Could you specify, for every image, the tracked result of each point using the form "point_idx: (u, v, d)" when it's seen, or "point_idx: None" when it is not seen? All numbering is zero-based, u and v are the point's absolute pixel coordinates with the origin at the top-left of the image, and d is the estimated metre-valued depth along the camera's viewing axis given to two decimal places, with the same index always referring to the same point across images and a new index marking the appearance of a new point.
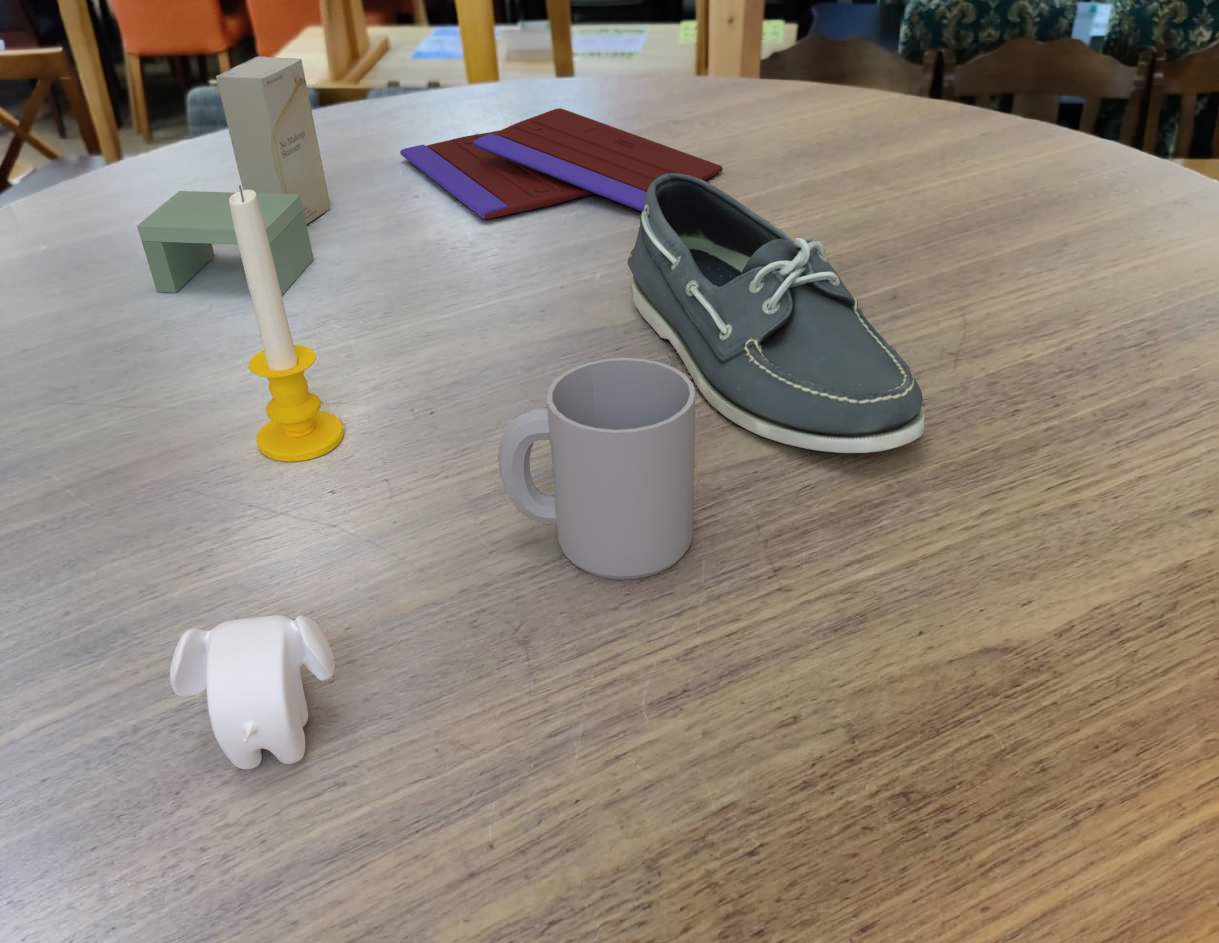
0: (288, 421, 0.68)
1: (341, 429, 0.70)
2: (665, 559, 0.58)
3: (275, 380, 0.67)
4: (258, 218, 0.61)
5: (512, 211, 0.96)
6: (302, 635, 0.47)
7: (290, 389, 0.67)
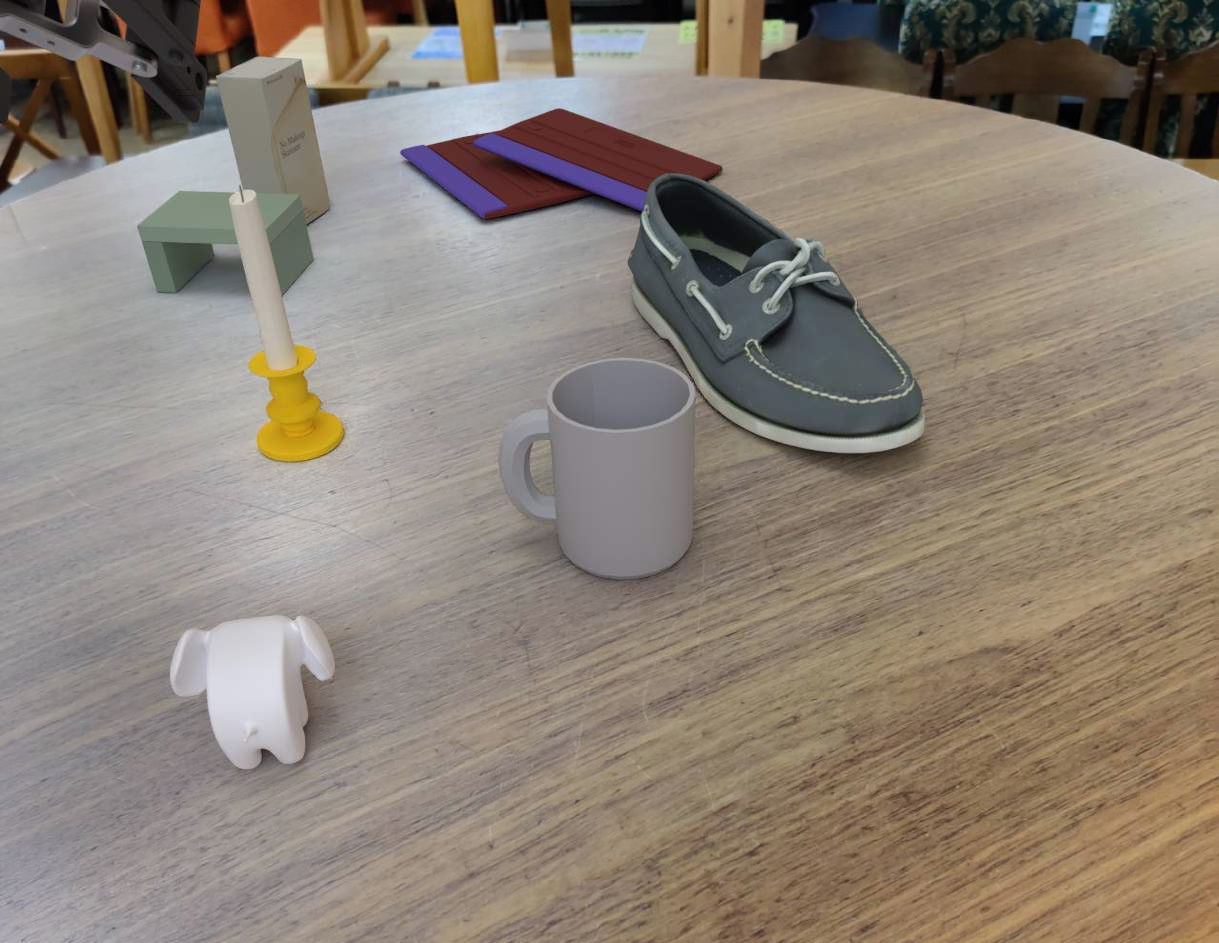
0: (288, 421, 0.68)
1: (341, 429, 0.70)
2: (665, 559, 0.58)
3: (275, 380, 0.67)
4: (258, 218, 0.61)
5: (512, 211, 0.96)
6: (302, 635, 0.47)
7: (290, 389, 0.67)
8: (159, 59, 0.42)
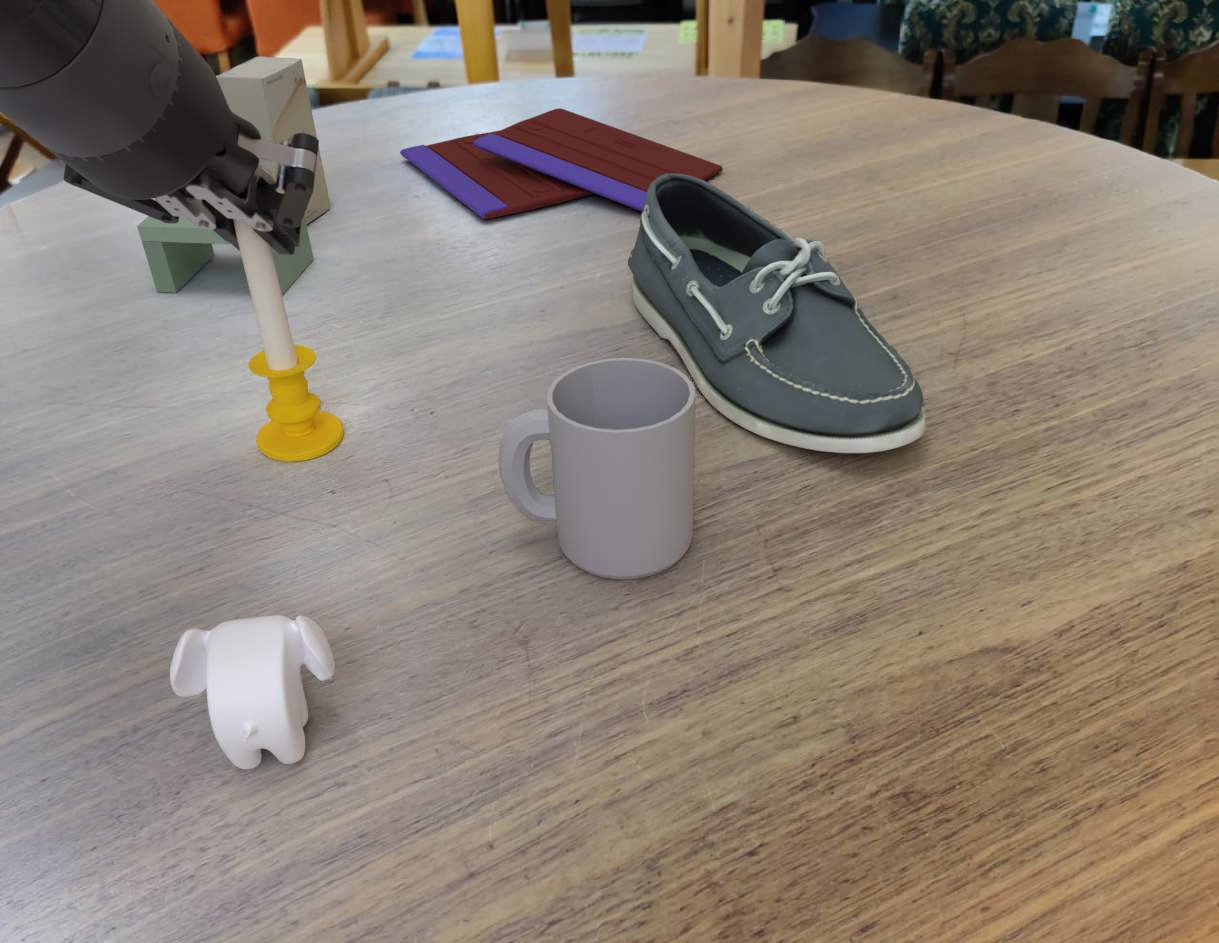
0: (288, 421, 0.68)
1: (341, 429, 0.70)
2: (665, 559, 0.58)
3: (275, 380, 0.67)
4: None
5: (512, 211, 0.96)
6: (302, 635, 0.47)
7: (290, 389, 0.67)
8: (274, 220, 0.60)
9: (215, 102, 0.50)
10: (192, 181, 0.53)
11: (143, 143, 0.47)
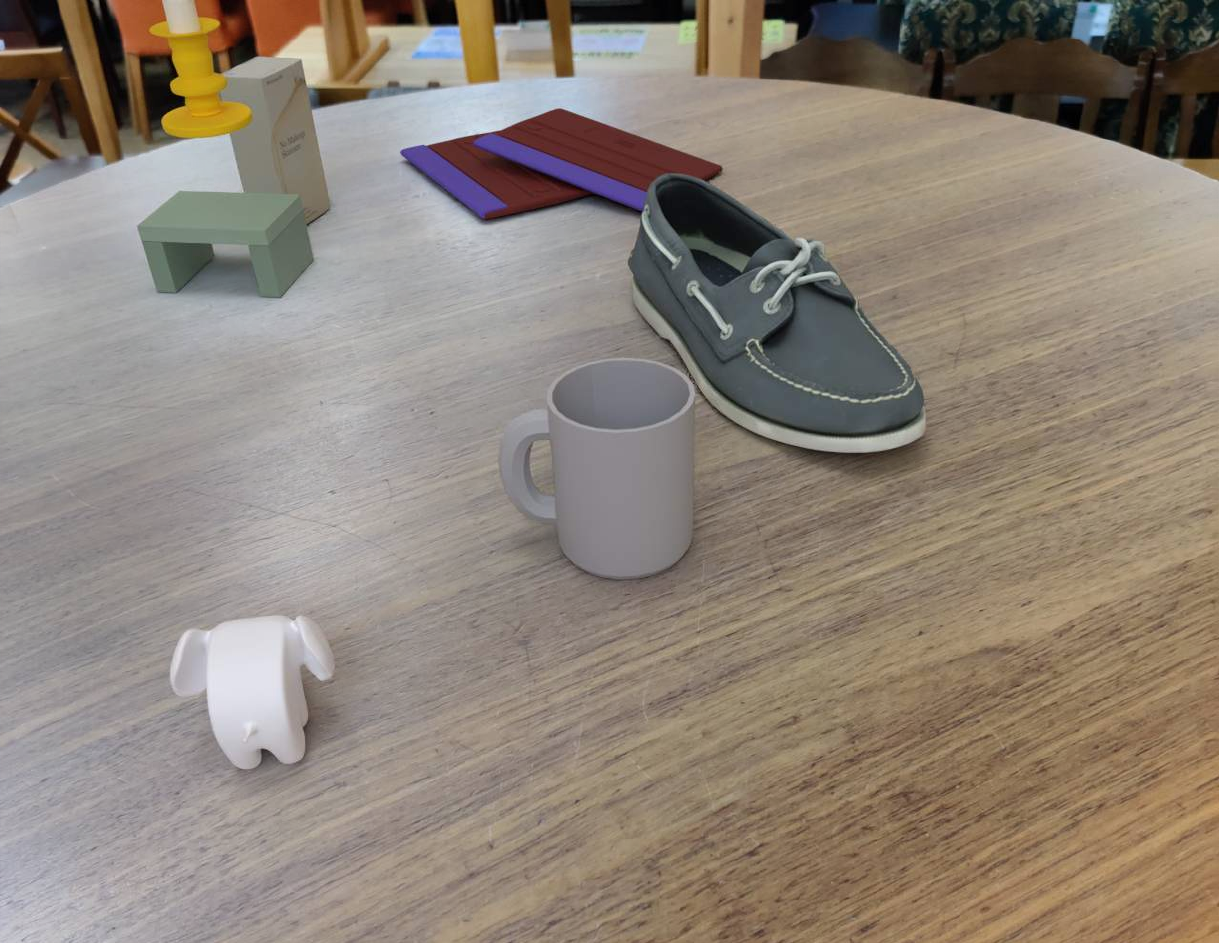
0: (191, 93, 0.66)
1: (249, 113, 0.68)
2: (665, 559, 0.58)
3: (177, 45, 0.65)
4: None
5: (512, 211, 0.96)
6: (302, 635, 0.47)
7: (193, 56, 0.65)
8: None
9: None
10: None
11: None
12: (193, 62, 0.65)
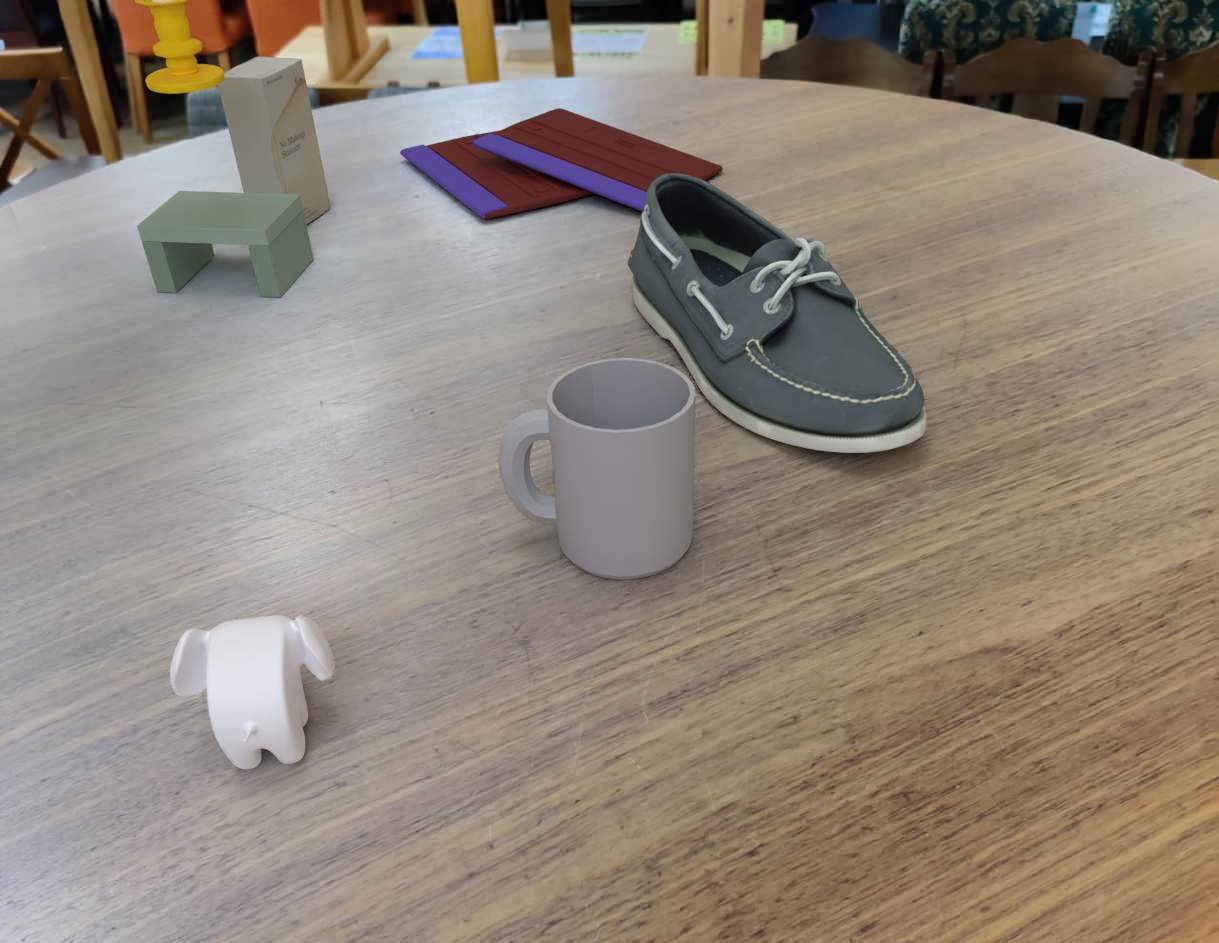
0: (171, 54, 0.77)
1: (221, 73, 0.79)
2: (665, 559, 0.58)
3: (158, 12, 0.76)
4: None
5: (512, 211, 0.96)
6: (302, 635, 0.47)
7: (171, 23, 0.76)
8: None
9: None
10: None
11: None
12: (172, 27, 0.76)
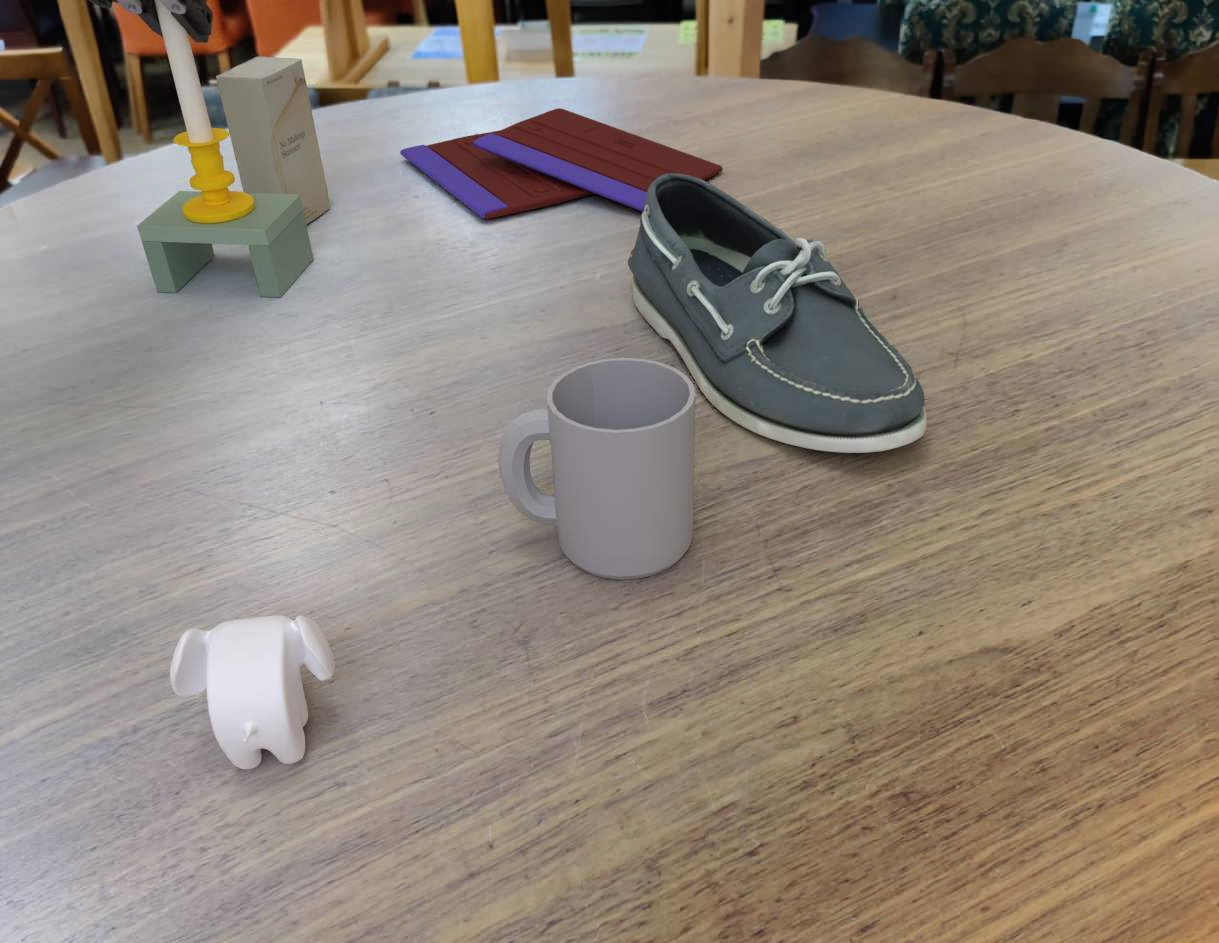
0: (206, 188, 0.83)
1: (252, 201, 0.85)
2: (665, 559, 0.58)
3: (195, 151, 0.82)
4: None
5: (512, 211, 0.96)
6: (302, 635, 0.47)
7: (207, 160, 0.82)
8: (187, 3, 0.75)
9: None
10: None
11: None
12: (208, 164, 0.83)
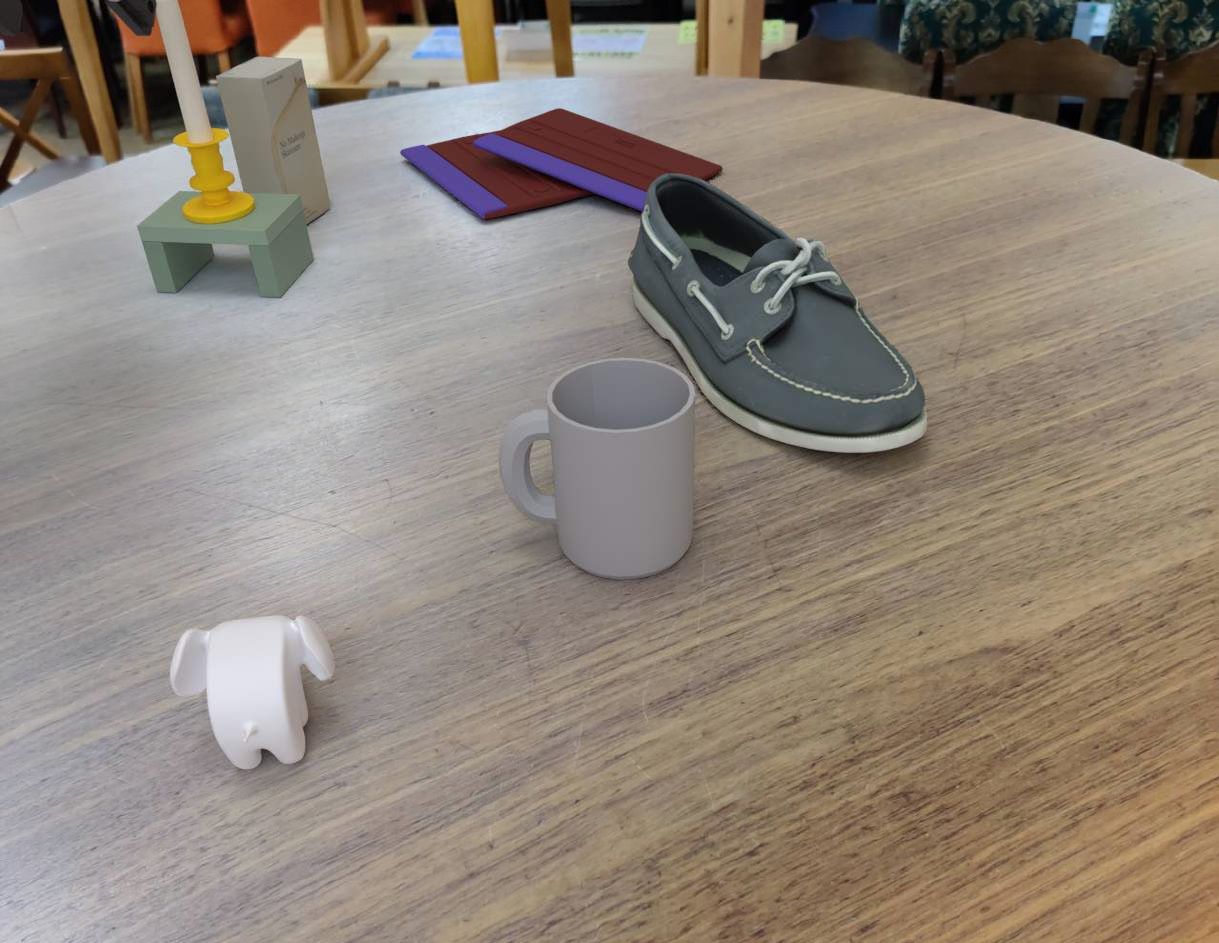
0: (206, 189, 0.83)
1: (252, 202, 0.85)
2: (665, 559, 0.58)
3: (195, 152, 0.82)
4: (175, 6, 0.76)
5: (512, 211, 0.96)
6: (302, 635, 0.47)
7: (207, 161, 0.82)
8: None
9: None
10: None
11: None
12: (207, 165, 0.83)
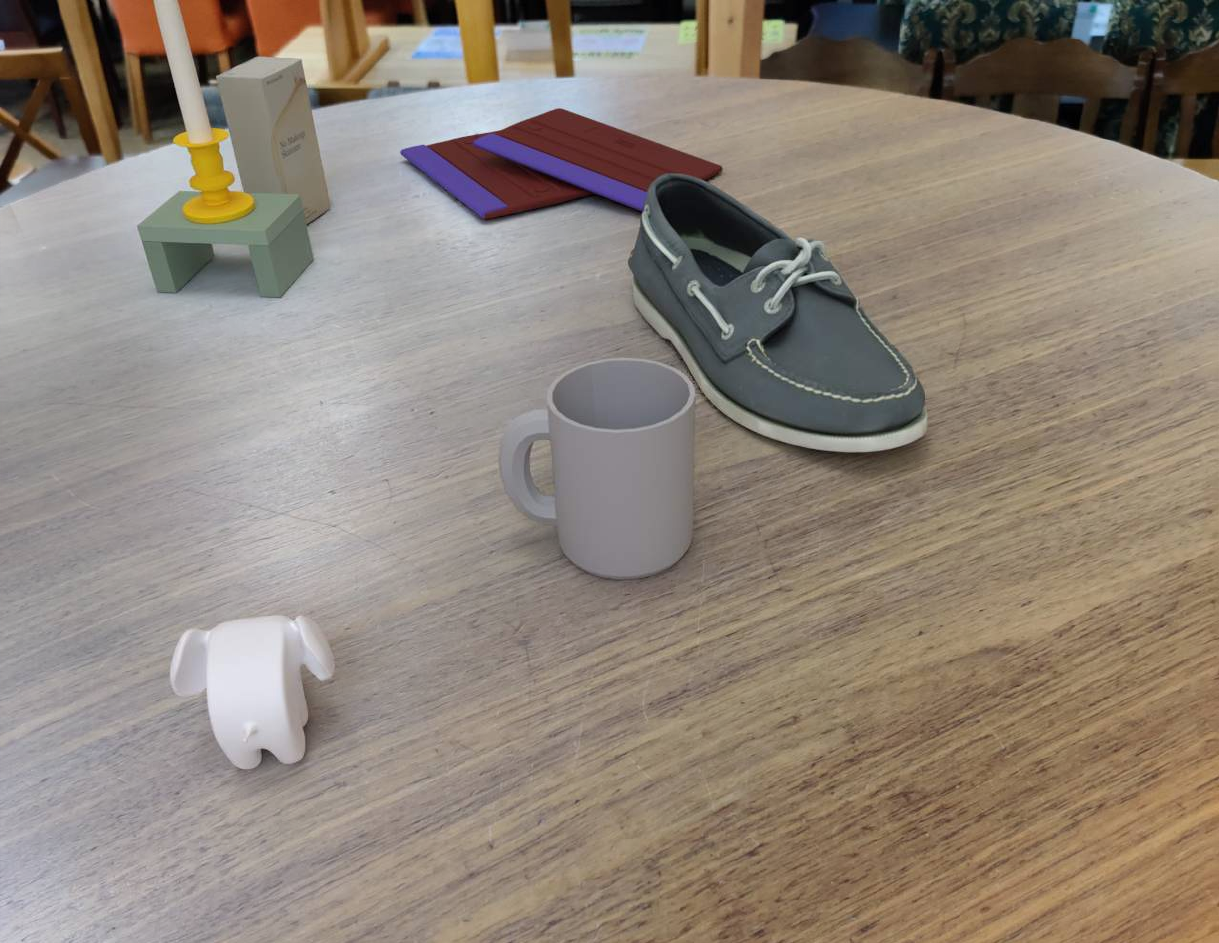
0: (206, 189, 0.83)
1: (252, 202, 0.85)
2: (665, 559, 0.58)
3: (195, 152, 0.82)
4: (175, 6, 0.76)
5: (512, 211, 0.96)
6: (302, 635, 0.47)
7: (207, 161, 0.82)
8: None
9: None
10: None
11: None
12: (207, 165, 0.83)
